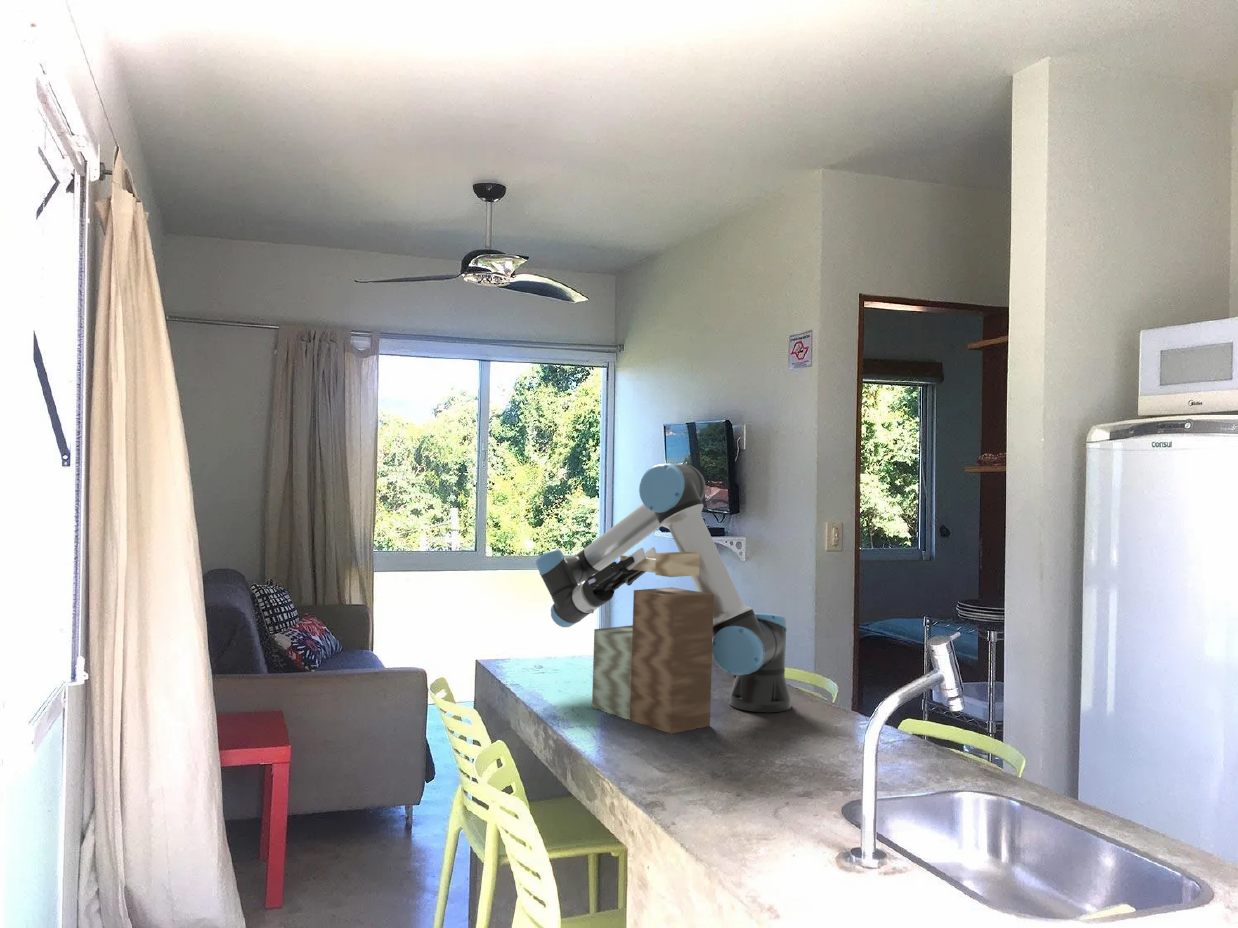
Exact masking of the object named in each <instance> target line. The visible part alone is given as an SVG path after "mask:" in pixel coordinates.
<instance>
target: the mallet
mask: <svg viewBox="0 0 1238 928" xmlns="http://www.w3.org/2000/svg"><path fill="white" fill-rule="evenodd" d="M630 555H631V554H623V555H620V557H619V561H621V560H625V559H626V558H627V557H629V556H630ZM699 559H700V553H692V552H679V551H672V552H669V551H667V552H656V558H651V557H646V559H645V560H643V561H642V562H641V563H639V564H638V565H636V566H635V567H634V568H632V569H633V570H640V571H646V572H648V573H653V574H654V575H655V576H659V577H667V578H677V577H678V578H679V577H680V578H681V577H691V576H696V575H699ZM626 569H627V568H626ZM646 572H645V573H646Z"/></svg>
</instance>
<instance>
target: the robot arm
mask: <svg viewBox="0 0 1238 928" xmlns="http://www.w3.org/2000/svg"><path fill="white" fill-rule="evenodd" d="M638 492H639V497H640V500H641V502H642V504H641V505H640V506H639V507H637V508H635V510H633V511H631V512H630V513H629V514H628V515H627V516H625V517H624V518H622V520H620V521H619V522H618V523H616V524H614V525H613V526H612V527H610V528H609V529H608V530H607V531H605V532H604V533H603V534H601V535H600V536H599V537H598V538H597V539H595V540H594V541H592V542H591V543H589V544H588V545H587V546H586V547H585V548H583V549H582V550H580V552H578V553H577V554H575V555H573V556H566V557H565V555H564V554H563V552H562V551H561V549H558V548H555V549H551V550H549V551H547V552H544V553H543V554H541V555H540V556H538V558H537V559H536V561H535V565H536V568H537V569H538V572H539V575H540V577H541V579H542V581H543V582H544V585H545V586H546V589H547V591H548V593H549V595H550V597H551V599H552V601H553V604H552V606H551V608H550V617H551V619H552V620H553V622H554V623H555V624H556V625H557V626H559V627H561V628H570V627H573V626H574V625H575V624H577V623H579V622H581V620H583V619H585V618H586V617H587V616H589V615H590V614H594V613H595V611H596V610H597V609H598V608H600V607H601V606H603V605H604V604H606V603H608V602H609V601H610V600H612V598H613V597H614V594H615V591H616V590H618V589H619V588H620V587H621V586H622V585H624V584H625V585H627V586H631V585H632V584H633V583H634V582H635V581H636V580H637V579H639V578H640V577H642V576H643V575H644V574H645V573H646V571H640V570H633V569H632V568H634V567H635V566H636V565H638V564H639V563H641V562H642V561H643V560H645V559H646V557H651V558H656V553H657V550H656V547H655V546H654V547H651V548H650V549H648V550H646V551H645V550H644V548H643V547H640V548H639V549H637V550H636V551H635V552H632V554H629V555H630V556H629V557H627V558H626V559H625V560H621V561H620V560H619V561H618V562H617V561H616V560H618V559H620V555H625V554H626V553H627V552H628V551H630V550H631V549H633V548H634V547H635V546H636V545H638V544H639V543H641V542H642V541H643V540H645V539H646V538H647V537H649V536H651V534H653V533H654V532H656V531H657V530H658V529H660V528H661V527H663V528H666V529H668V530H669V532H670V534H671V536H672V539H673V541H674V544H675V545H676V547H677V549H678V552H692V553H700V559H699V575H696V576H690V577H691V580H692V583H693V584H694V586H695V588H696V590H697V592H703V593H709V594H714V605H713V638H712V659H713V660H714V661H715V664H717V666H718V667H719V668H720V669H721V670H723V671H724V672H726V673H728V674H730V675H733V676H736V677H735V679H734V682H733V685H732V688H731V691H730V693H729V705H730V706H731V707H733V708H735V709H738V710H743V711H746V712H755V713H780V712H786V711H789V710H791V707H792V698H791V694H790V690H789V687H788V684H787V680H786V676H785V670H786V647H787V646H786V639H787V629H788V628H787V620H786V618H785V616H783V615H780V614H772V613H763V612H761V613H760V612H754V610H753V609H754V608H752V607H750V606H747V605H746V604H744V603H743V601H742V599H741V597H740V595H739V593H738V591H737V588H736V587H735V584H734V581H733V580H732V577H731V576H730V574H729V572H728V569H727V567H726V565H725V562H724V560H723V559H722V558H723V557H721V554H720V552H719V550H718V548H717V545H716V544H715V542H714V541H715V540H714V539H713V536H711V533H710V531H709V529H708V526H707V525H706V523H705V521H704V519H703V516H702V512H703V508H704V503H703V501H702V500H703V499H704V496H705V493H706V481H705V478H704V476H703V474H701V472H700V471H699V470H698V469H697V468H695V467H694V466H691V465H689V464H685V463H683V464H681V463H680V464H675V463H669V462H665V463H660V464H656V465H654V466H652V467H651V466H650V468H649V469H648V470H646V471H645V473H644V474H643V475H642V477H641V480H640V483H639V489H638ZM626 568H627V569H626Z"/></svg>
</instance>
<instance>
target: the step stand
mask: <svg viewBox="0 0 1238 928" xmlns="http://www.w3.org/2000/svg"><path fill="white" fill-rule="evenodd" d="M632 605H633V607H632V625H624V626H623V625H622V626H615V627H603V628H595V629H594V632H593V633H594V634H593V659H592V660H593V664H592V666H593V669H592V697H591V699H592V700H591V708H592V709H594V710H597V709H599V710H598V711H600V710H601V711H600V712H603V711H604V713H606V712H607V713H606V714H608V715H612V714H614V715H613V716H615V715H617V716H616V717H619V718H622V719H623V720H627V719H629V720H628V721H630V720H631V721H632V722H634V723H637V724H641V725H643V726H647V727H650V728H652V729H656V730H659V731H662V732H663V733H667V734H670V735H671V734H672V735H673V734H677V733H681V732H686V731H692V730H697V729H696V728H698V729H702V728H706V727H707V728H708V727H711V704H712V703H711V698H712V665H713V654H712V643H713V639H712V638H713V605H714V594H709V593H703V592H698V591H696V590H689V589H684V588H678V587H673V586H672V587H661V588H659V587H657V588H647V589H646V588H645V589H634V590H633V604H632ZM631 721H630V722H631Z"/></svg>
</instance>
